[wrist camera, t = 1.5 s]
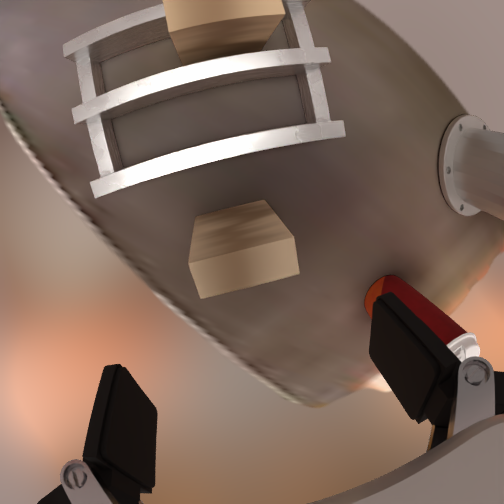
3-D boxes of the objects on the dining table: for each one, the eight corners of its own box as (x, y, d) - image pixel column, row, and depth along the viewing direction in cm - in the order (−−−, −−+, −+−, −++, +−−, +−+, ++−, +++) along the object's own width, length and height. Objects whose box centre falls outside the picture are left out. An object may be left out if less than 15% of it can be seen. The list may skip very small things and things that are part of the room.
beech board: (264, 199, 24) (294, 236, 15) (269, 225, 25) (299, 273, 16) (195, 216, 23) (188, 263, 15) (202, 242, 24) (200, 298, 16)
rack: (291, 8, 17) (308, -14, 12) (321, 134, 22) (345, 136, 18) (86, 57, 16) (62, 44, 12) (115, 185, 21) (95, 198, 17)
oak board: (251, 31, 17) (275, -19, 9) (257, 55, 18) (285, 14, 10) (179, 45, 17) (162, -2, 9) (184, 69, 18) (168, 32, 10)
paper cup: (348, 289, 29) (419, 383, 16) (403, 254, 28) (488, 325, 15) (364, 332, 32) (420, 416, 19) (412, 300, 31) (478, 370, 19)
